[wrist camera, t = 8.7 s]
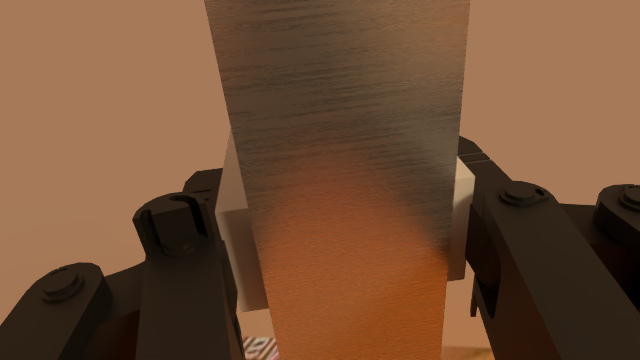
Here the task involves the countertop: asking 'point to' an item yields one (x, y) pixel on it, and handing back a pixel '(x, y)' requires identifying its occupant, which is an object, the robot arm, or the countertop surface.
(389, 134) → the column
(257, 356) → the countertop surface
